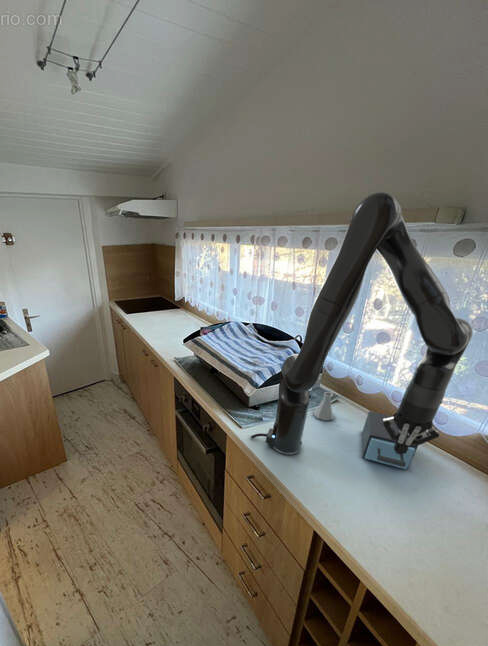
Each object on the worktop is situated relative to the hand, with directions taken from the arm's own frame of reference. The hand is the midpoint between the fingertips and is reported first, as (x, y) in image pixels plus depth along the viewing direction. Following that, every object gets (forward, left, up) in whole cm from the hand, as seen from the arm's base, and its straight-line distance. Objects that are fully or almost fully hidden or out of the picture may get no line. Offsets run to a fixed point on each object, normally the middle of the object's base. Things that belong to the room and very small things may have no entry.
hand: (398, 452), depth 84 cm
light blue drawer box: (0, +13, -11) cm, 17 cm away
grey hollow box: (0, +17, -12) cm, 21 cm away
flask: (-20, +30, -12) cm, 38 cm away
